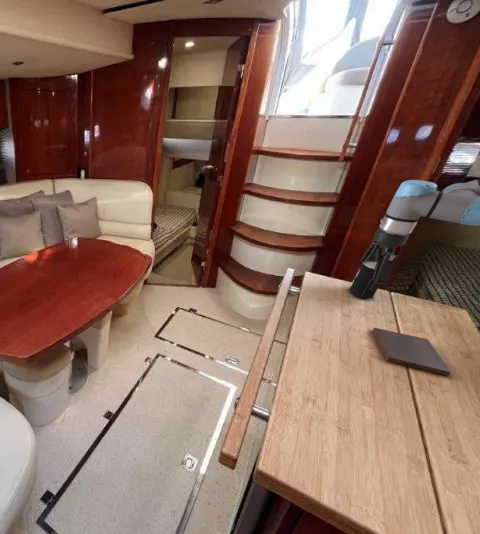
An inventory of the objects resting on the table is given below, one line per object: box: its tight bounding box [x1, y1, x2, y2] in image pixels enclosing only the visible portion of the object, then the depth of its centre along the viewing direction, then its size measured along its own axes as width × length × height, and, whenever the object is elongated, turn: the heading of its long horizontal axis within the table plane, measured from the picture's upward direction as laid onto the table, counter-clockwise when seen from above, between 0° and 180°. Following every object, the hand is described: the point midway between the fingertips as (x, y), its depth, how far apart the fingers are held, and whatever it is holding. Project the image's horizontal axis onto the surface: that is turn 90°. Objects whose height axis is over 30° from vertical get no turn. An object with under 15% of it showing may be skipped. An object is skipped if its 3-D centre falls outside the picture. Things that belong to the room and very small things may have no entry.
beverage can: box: [348, 261, 376, 300], centre depth 105 cm, size 7×7×12 cm
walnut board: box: [371, 327, 452, 377], centre depth 84 cm, size 12×13×2 cm
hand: (362, 289), depth 107 cm, fingers open, 9 cm apart
